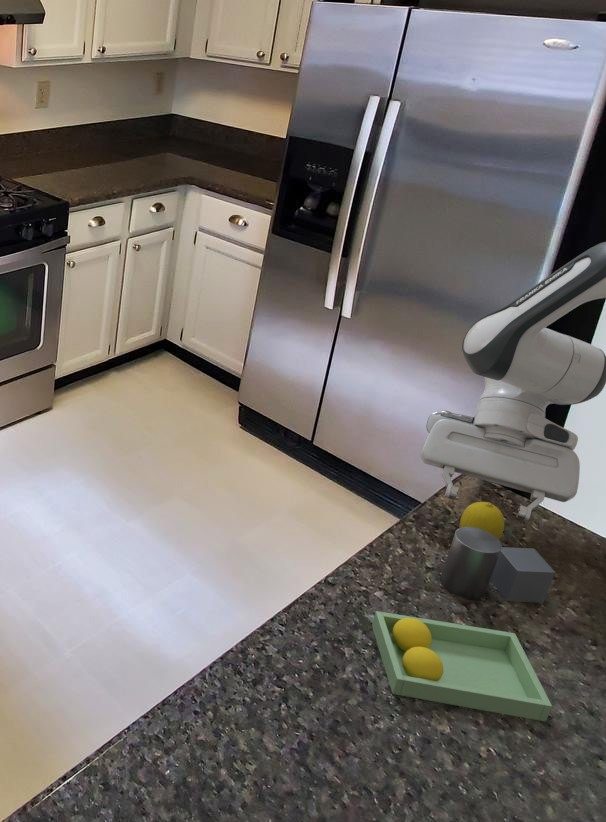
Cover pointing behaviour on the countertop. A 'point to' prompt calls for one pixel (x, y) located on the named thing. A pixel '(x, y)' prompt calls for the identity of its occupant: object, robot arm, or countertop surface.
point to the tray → (467, 669)
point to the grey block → (522, 575)
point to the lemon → (483, 518)
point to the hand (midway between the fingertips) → (485, 508)
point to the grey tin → (470, 563)
